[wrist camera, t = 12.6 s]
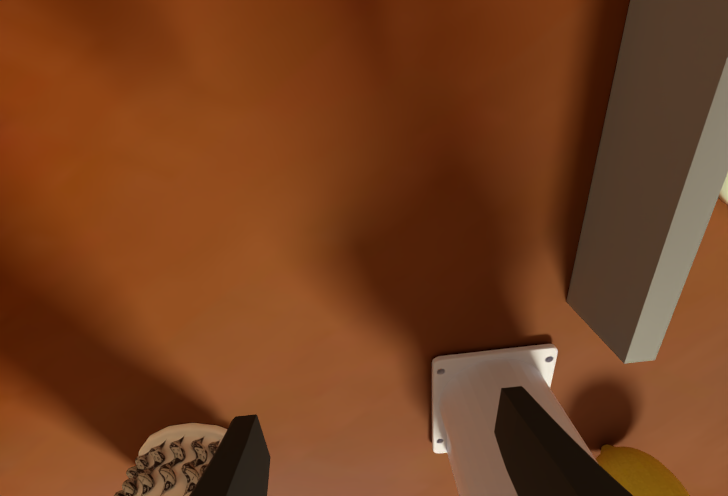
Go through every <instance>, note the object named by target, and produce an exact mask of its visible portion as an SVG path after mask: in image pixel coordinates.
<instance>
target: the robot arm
mask: <svg viewBox="0 0 728 496" xmlns="http://www.w3.org/2000/svg"><path fill="white" fill-rule="evenodd" d="M557 354H558V350H557V348H556V347H555V346H554V345H553V344H542V345H533V346H524V347H515V348H507V349H498V350H489V351H480V352H471V353H463V354H454V355H445V356H438V357H436V358H434V359H433V360H432V448H433V451H434V452H435V453H448V457H449V461H450V464H451V468H452V471H453V475H454V479H455V482H456V486H457V489H458V493H459V496H633V495H632V494H631V493H630V492H629V491H627V490H626V489H625V488H624V487H623V486H622V485H621V484H620V483H619V482H617V481H616V480H615V479H614V478H613V477H612V476H611V475H610V474H609V473H608V472H607V471H605V470H604V469H603V468H602V467H601V466H600V465H599V464H598V462H597V461H596V459H595V458H594V456H593V454H592V453H591V451H590V450H589V448H588V447H587V445H586V444H585V442H584V440H583V439H582V437H581V436H580V434H579V433H578V431H577V430H576V428H575V426H574V425H573V423H572V422H571V420H570V419H569V417H568V416H567V414H566V412H565V411H564V409H563V408H562V406H561V405H560V403H559V402H558V400H557V398H556V397H555V395H554V394H553V392H552V391H551V389H550V386H551V381H552V377H553V372H554V367H555V363H556V358H557ZM439 369H441V370H439ZM269 467H270V455H269V452H268V448H267V445H266V442H265V439H264V436H263V433H262V429H261V426H260V423H259V420H258V417H257V415H247V416H238V417H235V418H234V419H233V420H232V422H231V424H230V426H229V428H228V430H227V431H226V433H225V435H224V437H223V439H222V441H221V442H220V444H219V446H218V448H217V450H216V451H215V453H214V455H213V457H212V458H211V460H210V462H209V464H208V465H207V467H206V469H205V471H204V472H203V474H202V476H201V477H200V479H199V481H198V482H197V484H196V486H195V487H194V489H193V490H192V492H191V494H190V495H189V496H267V489H268V479H269Z"/></svg>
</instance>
